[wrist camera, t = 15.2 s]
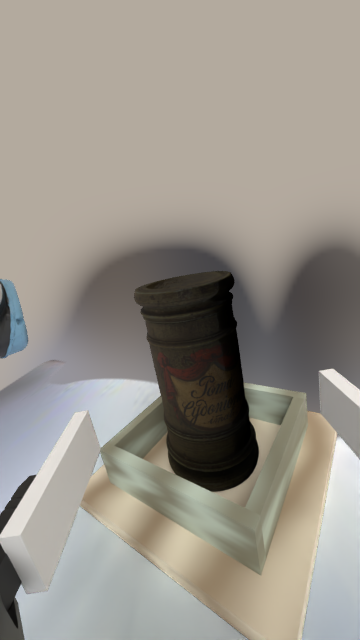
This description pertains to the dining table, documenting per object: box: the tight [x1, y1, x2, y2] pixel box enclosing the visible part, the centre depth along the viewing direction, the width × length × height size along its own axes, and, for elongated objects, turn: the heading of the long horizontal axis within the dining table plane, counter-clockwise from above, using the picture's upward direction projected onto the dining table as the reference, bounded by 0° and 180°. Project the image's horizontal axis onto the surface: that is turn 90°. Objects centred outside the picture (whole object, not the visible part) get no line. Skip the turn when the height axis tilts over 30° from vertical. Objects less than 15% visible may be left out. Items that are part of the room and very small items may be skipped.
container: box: [134, 271, 259, 492], centre depth 24 cm, size 9×9×18 cm
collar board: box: [80, 383, 337, 640], centre depth 26 cm, size 20×20×6 cm
